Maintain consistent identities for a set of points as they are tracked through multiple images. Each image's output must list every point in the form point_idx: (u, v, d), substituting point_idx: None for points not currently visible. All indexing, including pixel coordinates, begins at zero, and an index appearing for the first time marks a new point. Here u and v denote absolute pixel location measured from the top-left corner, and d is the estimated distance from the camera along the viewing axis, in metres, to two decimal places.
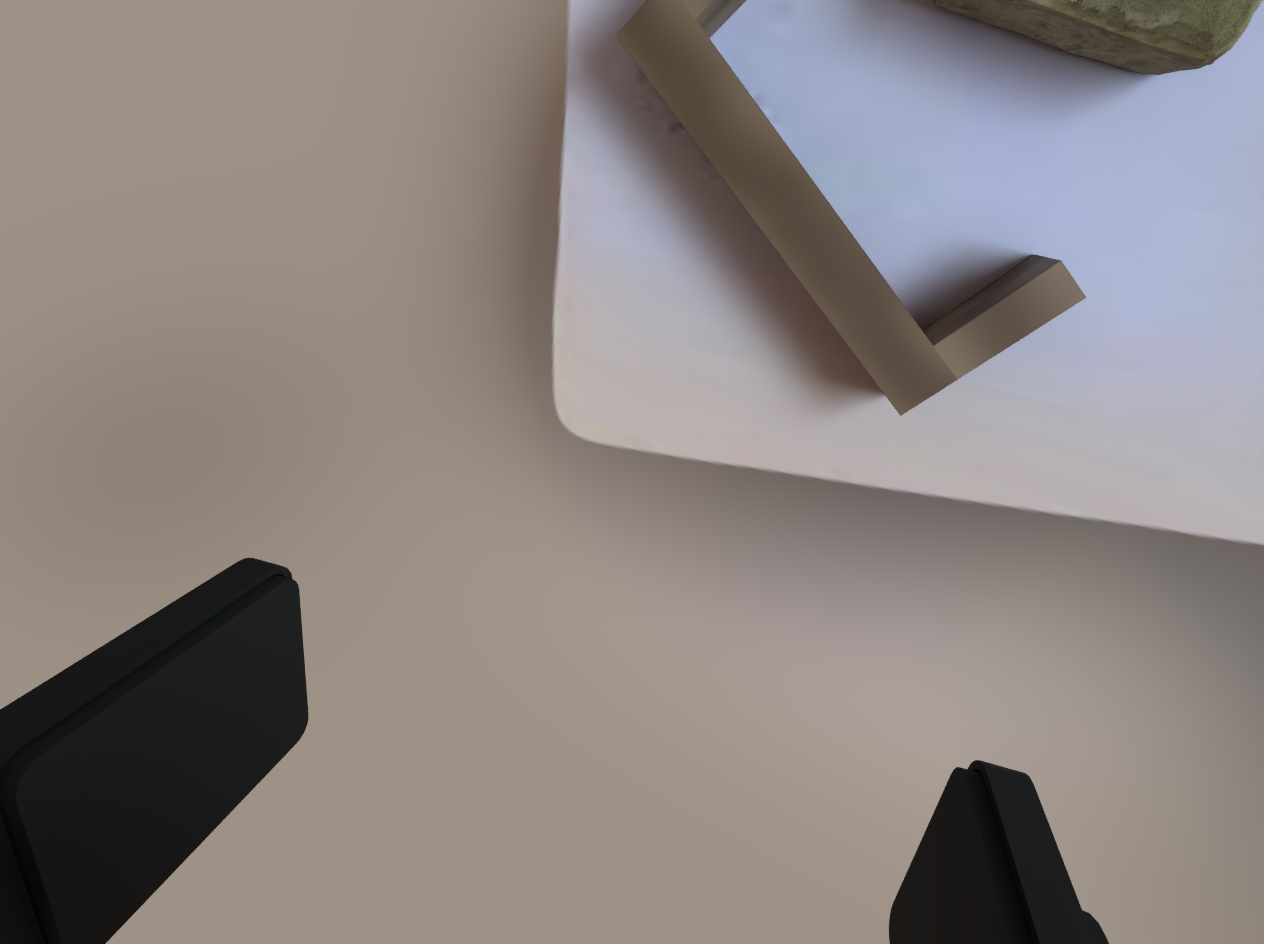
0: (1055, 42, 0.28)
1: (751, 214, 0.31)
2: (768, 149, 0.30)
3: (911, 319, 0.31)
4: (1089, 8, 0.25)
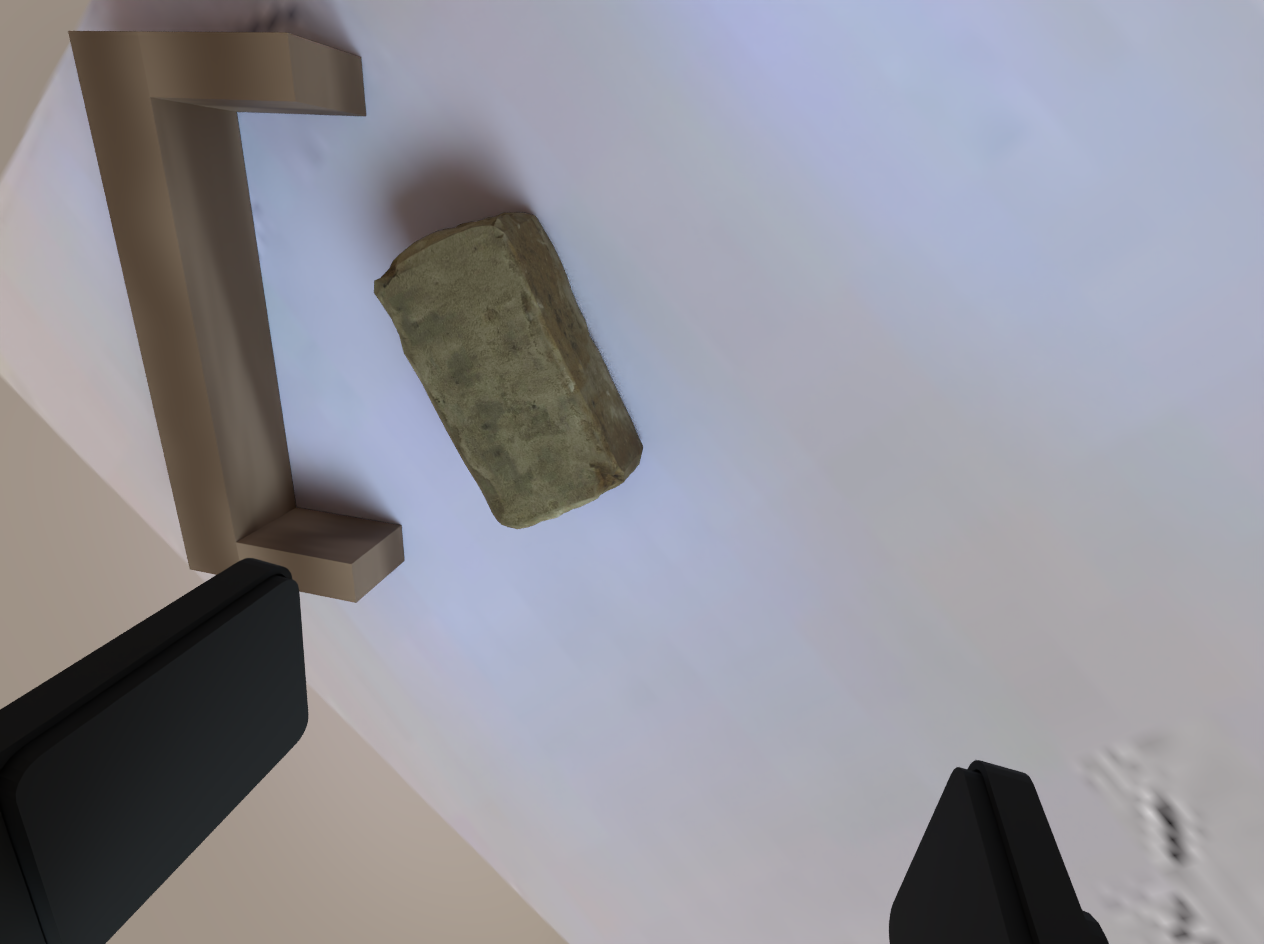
0: None
1: (133, 313, 0.27)
2: (169, 274, 0.26)
3: (228, 509, 0.30)
4: (441, 412, 0.25)
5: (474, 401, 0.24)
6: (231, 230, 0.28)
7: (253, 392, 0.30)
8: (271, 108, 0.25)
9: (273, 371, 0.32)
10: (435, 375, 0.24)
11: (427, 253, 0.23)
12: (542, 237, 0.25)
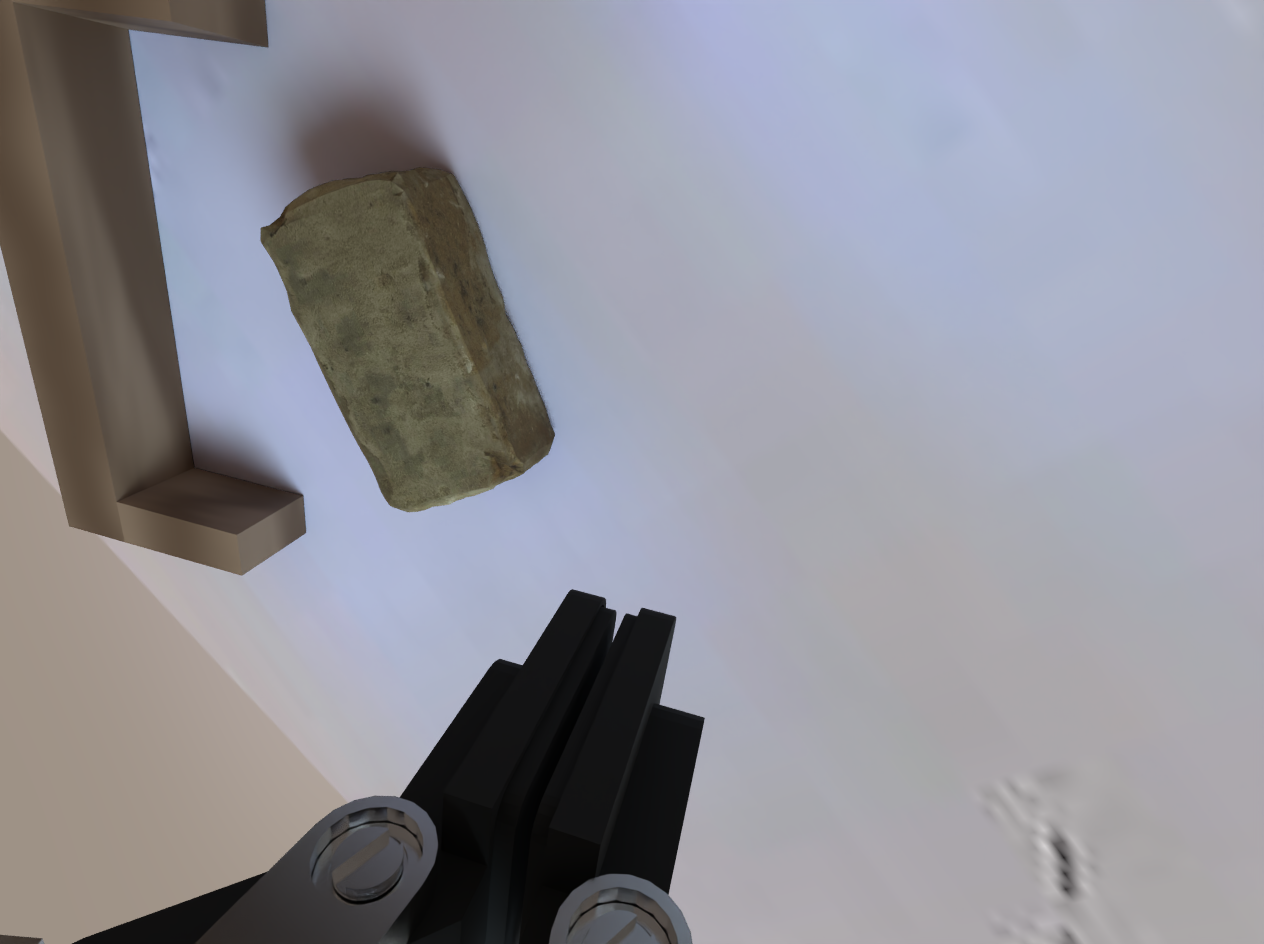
0: None
1: (1, 245, 0.25)
2: (39, 205, 0.24)
3: (107, 466, 0.28)
4: (330, 379, 0.23)
5: (365, 372, 0.22)
6: (117, 162, 0.26)
7: (142, 342, 0.28)
8: (158, 28, 0.23)
9: (169, 320, 0.29)
10: (323, 339, 0.22)
11: (318, 204, 0.21)
12: (457, 199, 0.23)
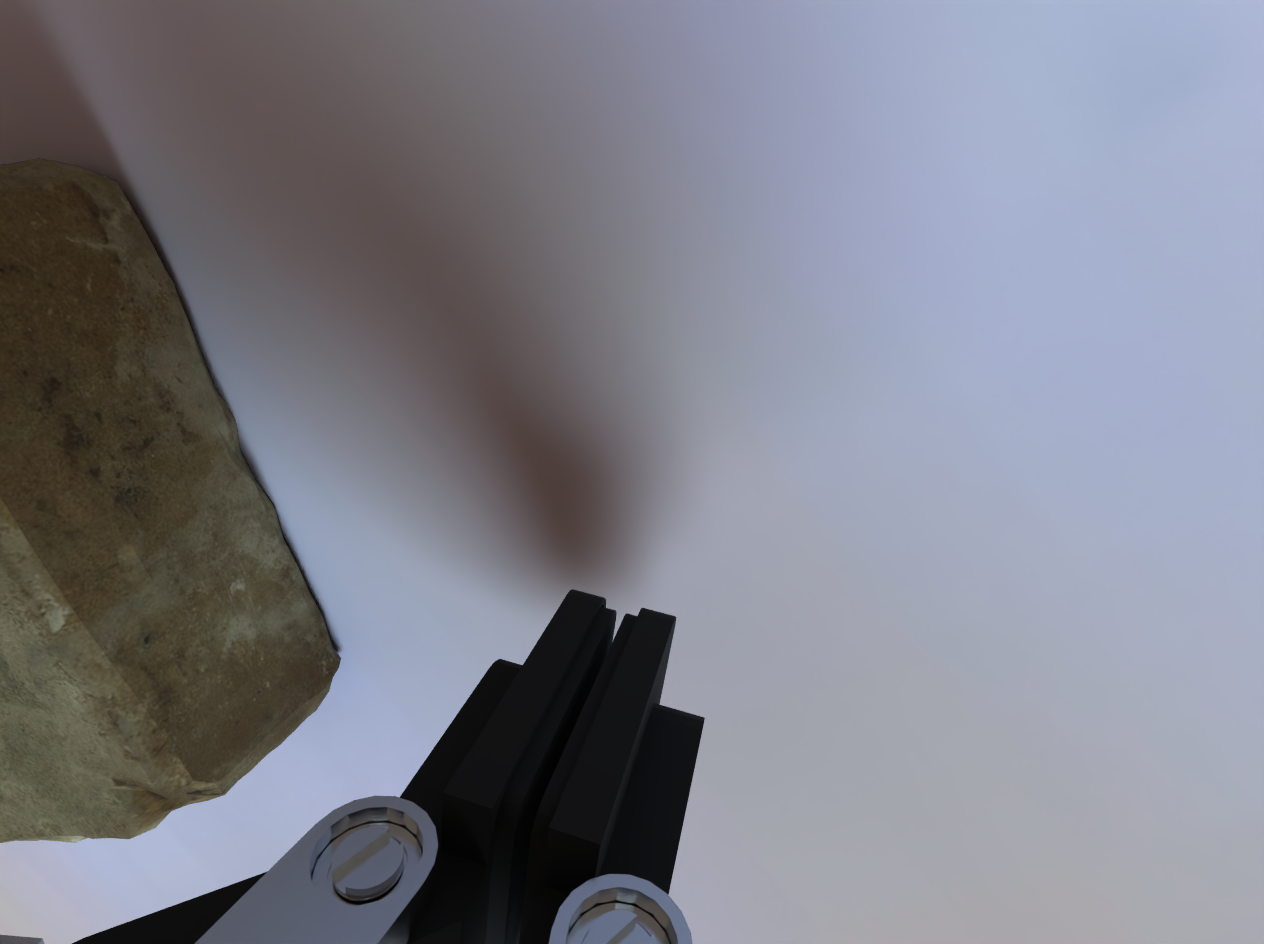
0: None
1: None
2: None
3: None
4: None
5: None
6: None
7: None
8: None
9: None
10: None
11: None
12: (107, 231, 0.11)
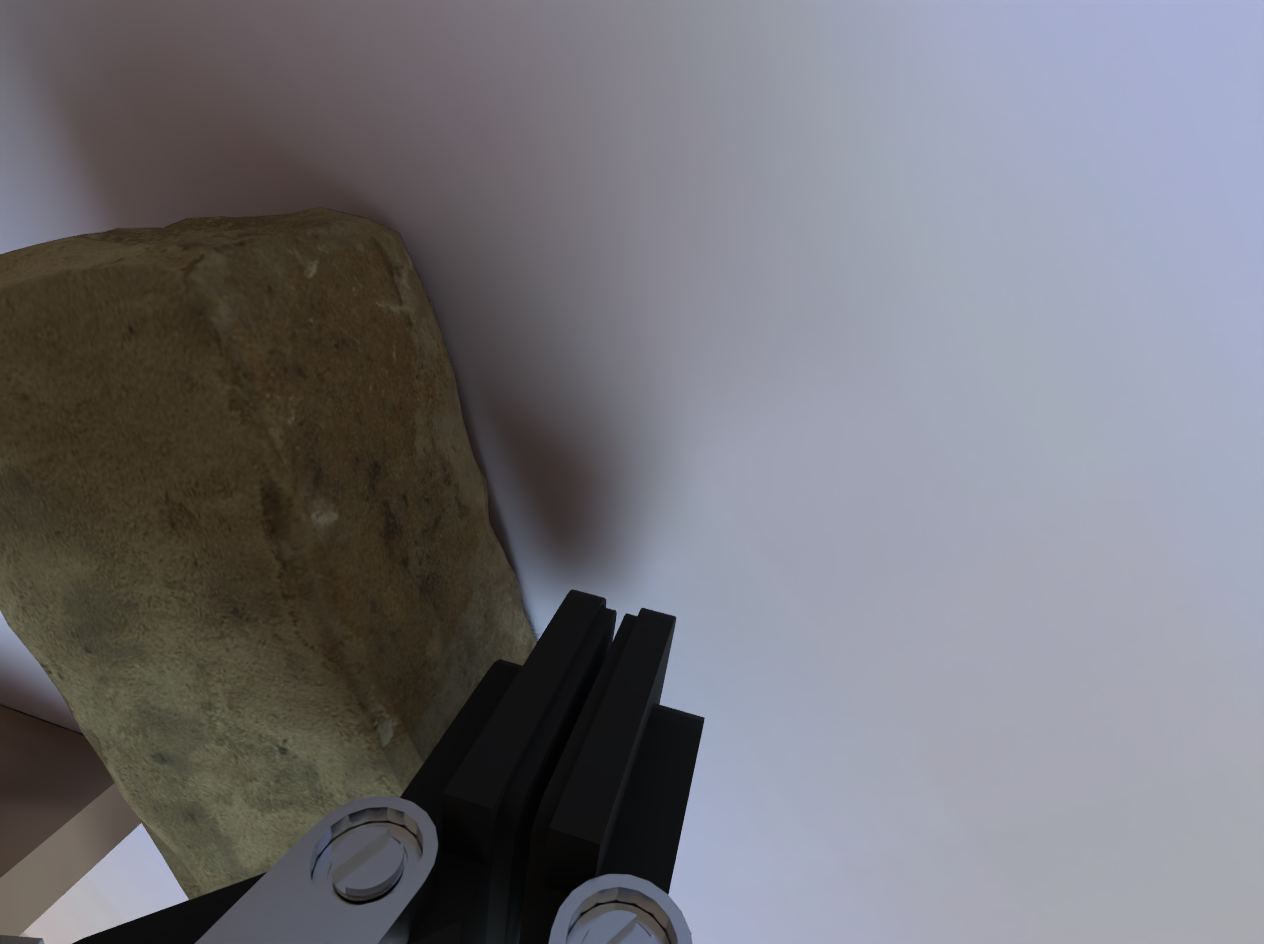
0: None
1: None
2: None
3: None
4: (61, 692, 0.10)
5: (135, 701, 0.09)
6: None
7: None
8: None
9: None
10: (33, 618, 0.09)
11: None
12: (400, 292, 0.10)
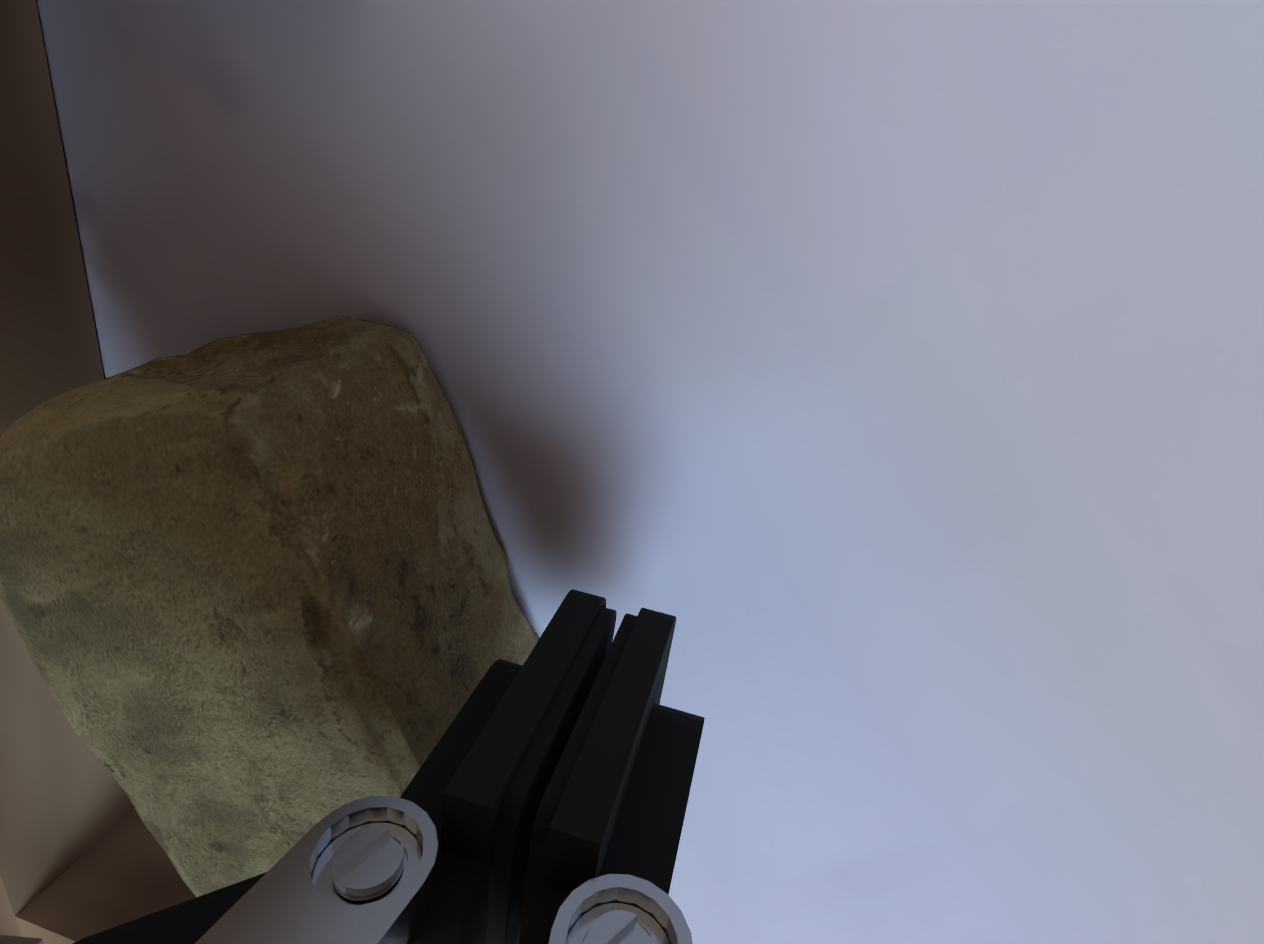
0: None
1: None
2: None
3: None
4: (123, 788, 0.10)
5: (192, 796, 0.10)
6: (4, 255, 0.11)
7: None
8: None
9: None
10: (96, 723, 0.10)
11: (54, 452, 0.08)
12: (416, 391, 0.11)
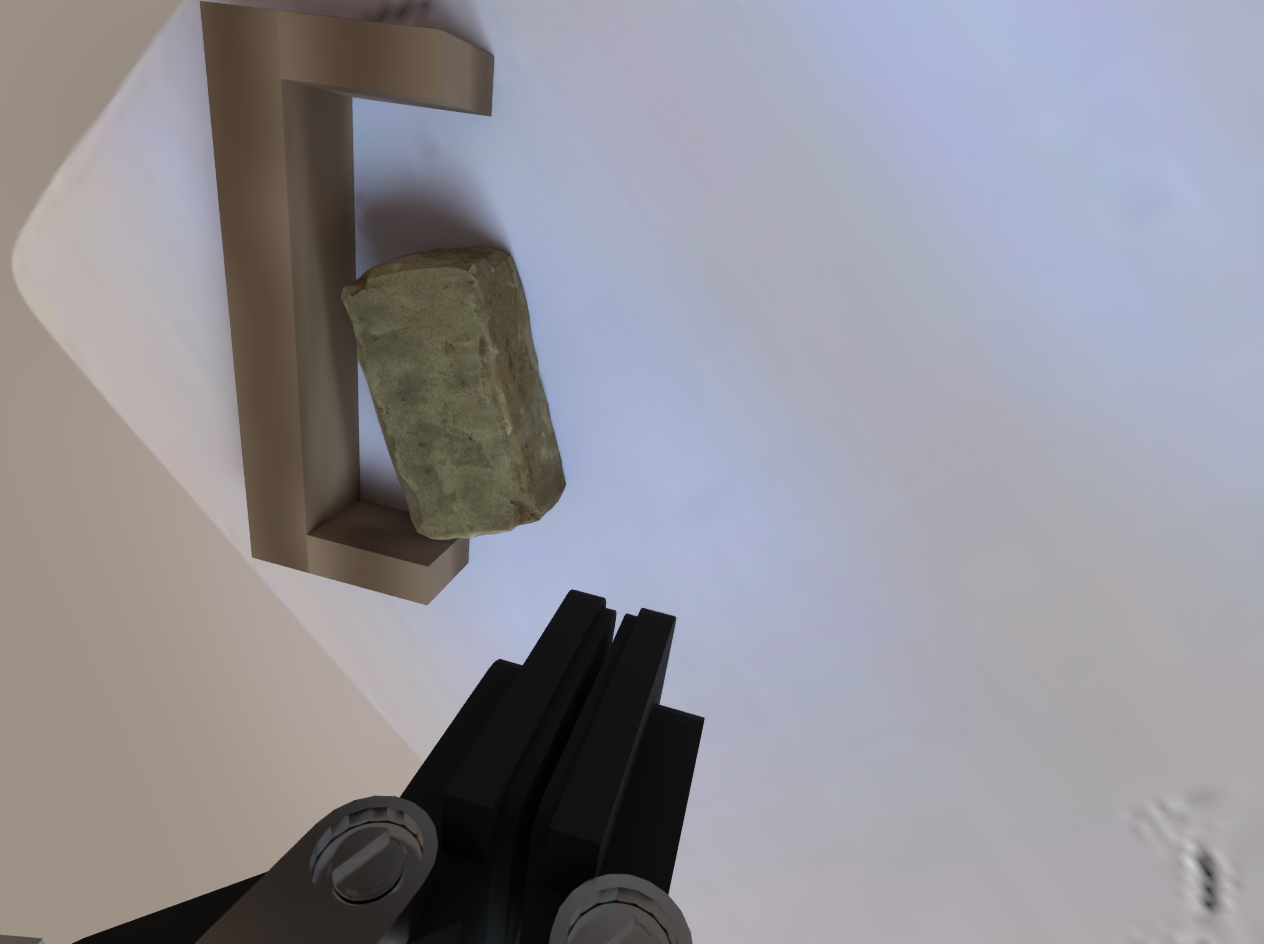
0: None
1: (228, 295, 0.27)
2: (275, 260, 0.26)
3: (303, 501, 0.29)
4: (382, 420, 0.26)
5: (416, 420, 0.26)
6: (334, 218, 0.27)
7: (336, 383, 0.30)
8: (398, 100, 0.25)
9: (355, 362, 0.31)
10: (384, 387, 0.26)
11: (399, 277, 0.24)
12: (513, 278, 0.27)
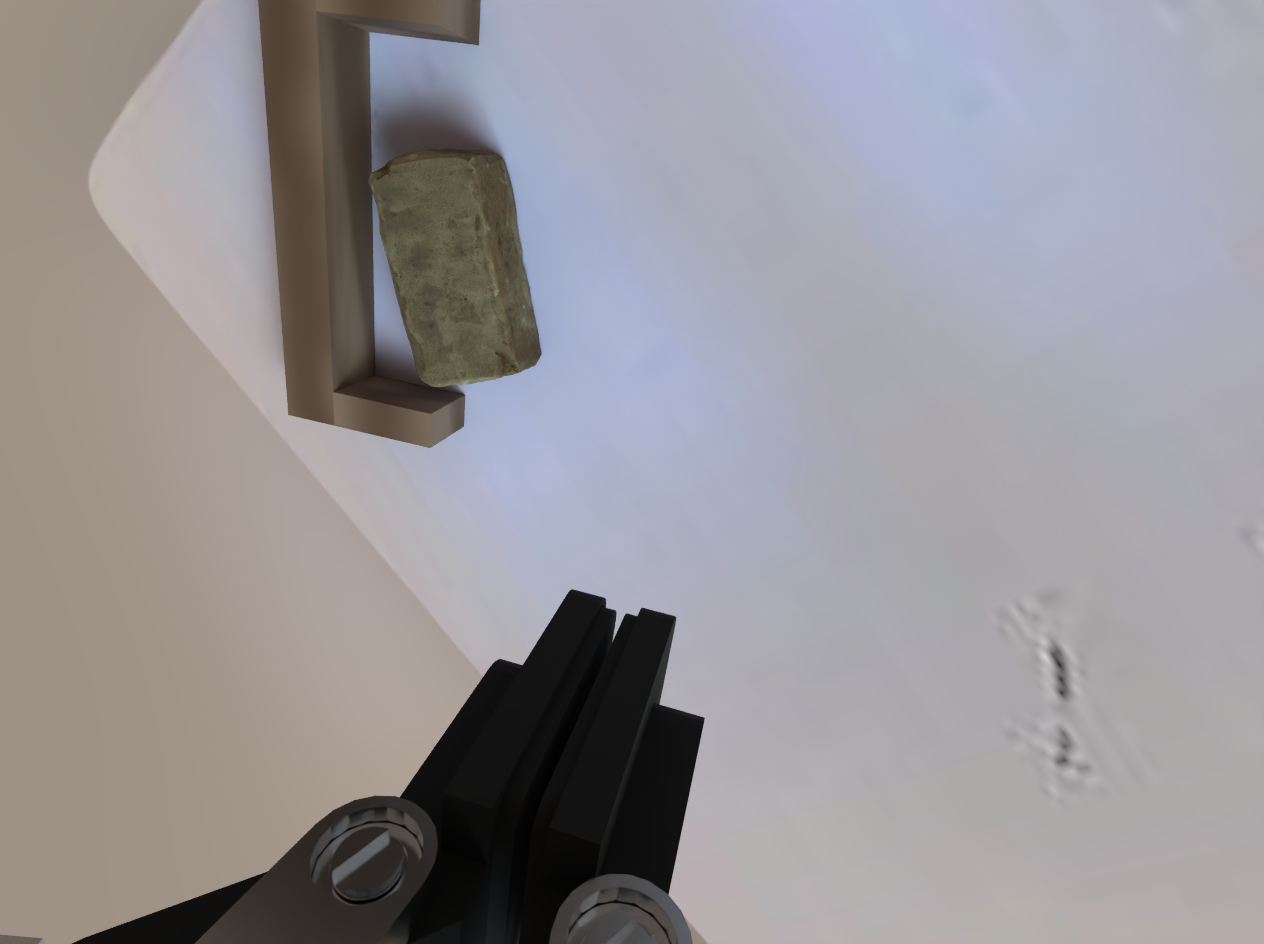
0: None
1: (273, 189, 0.34)
2: (310, 158, 0.33)
3: (330, 363, 0.37)
4: (397, 284, 0.33)
5: (423, 283, 0.33)
6: (355, 130, 0.34)
7: (356, 269, 0.37)
8: (406, 30, 0.32)
9: (371, 254, 0.38)
10: (399, 255, 0.33)
11: (415, 165, 0.31)
12: (504, 177, 0.34)
